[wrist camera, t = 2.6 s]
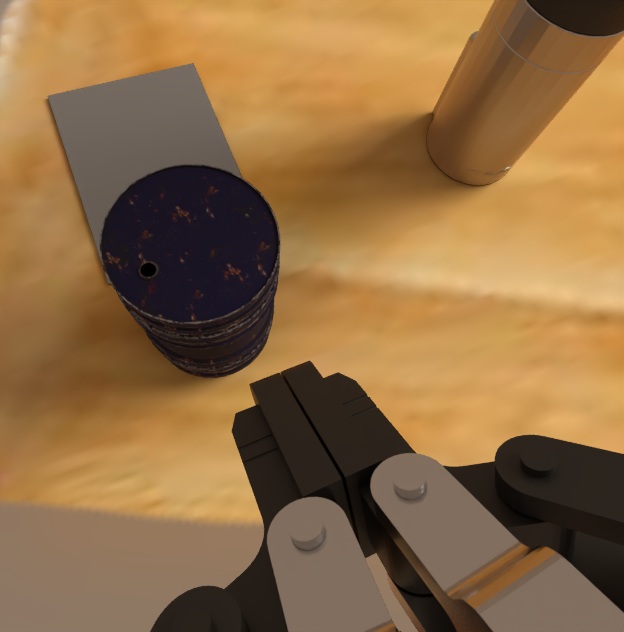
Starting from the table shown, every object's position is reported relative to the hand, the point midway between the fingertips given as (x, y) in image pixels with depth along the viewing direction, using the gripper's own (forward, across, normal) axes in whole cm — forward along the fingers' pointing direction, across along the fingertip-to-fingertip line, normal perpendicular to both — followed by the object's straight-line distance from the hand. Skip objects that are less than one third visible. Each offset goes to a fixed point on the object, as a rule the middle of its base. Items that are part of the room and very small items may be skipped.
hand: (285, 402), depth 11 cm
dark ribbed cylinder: (+28, 0, +12) cm, 30 cm away
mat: (+39, 0, 0) cm, 39 cm away
